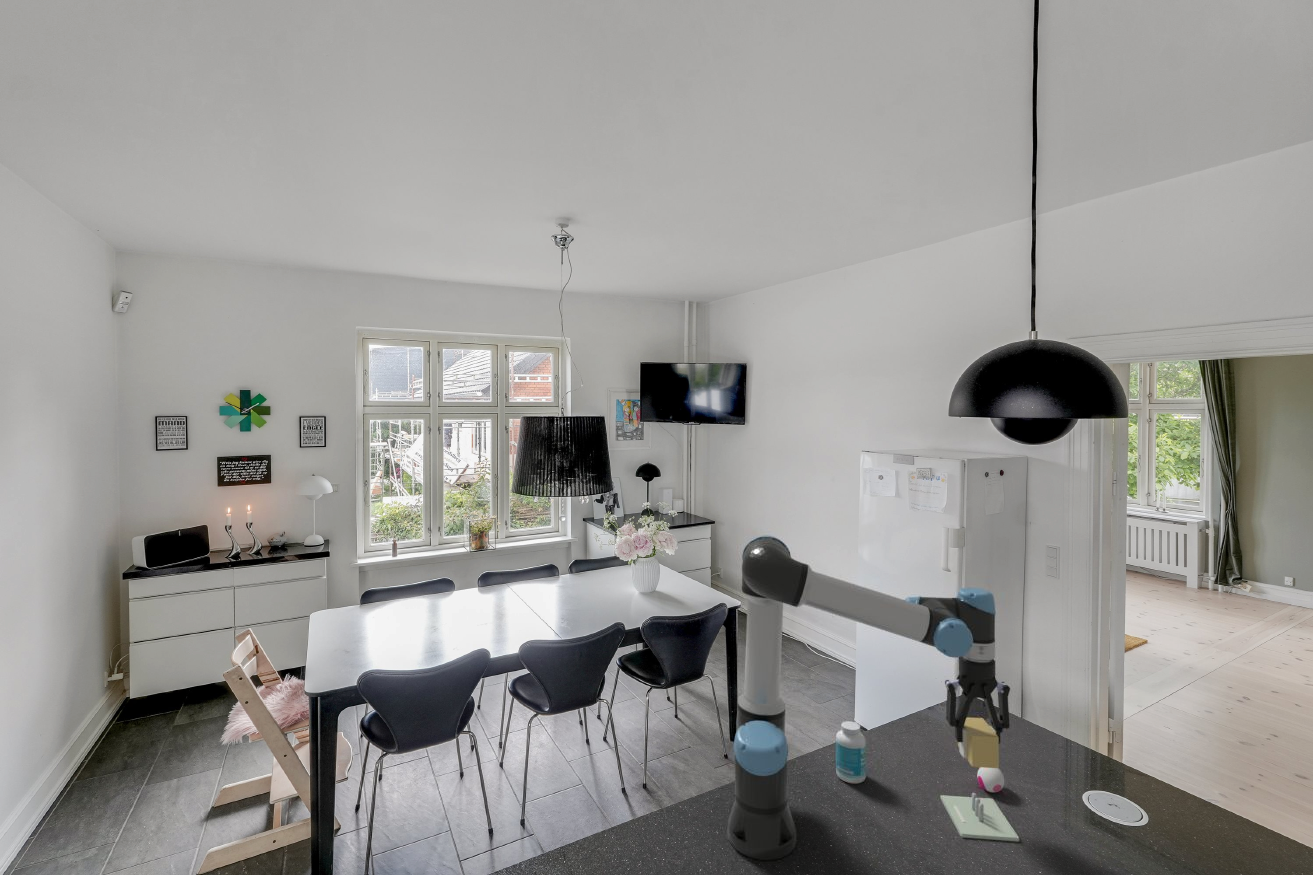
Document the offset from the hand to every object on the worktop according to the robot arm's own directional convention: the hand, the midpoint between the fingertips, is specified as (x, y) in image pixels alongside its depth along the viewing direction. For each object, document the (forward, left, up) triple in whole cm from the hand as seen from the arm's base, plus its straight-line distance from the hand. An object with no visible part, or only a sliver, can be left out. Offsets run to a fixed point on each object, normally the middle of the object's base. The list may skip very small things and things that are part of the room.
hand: (977, 755), depth 140 cm
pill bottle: (-26, +14, -15) cm, 33 cm away
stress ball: (+7, +12, -15) cm, 21 cm away
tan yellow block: (0, 0, 0) cm, 0 cm away
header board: (0, 0, -15) cm, 15 cm away
